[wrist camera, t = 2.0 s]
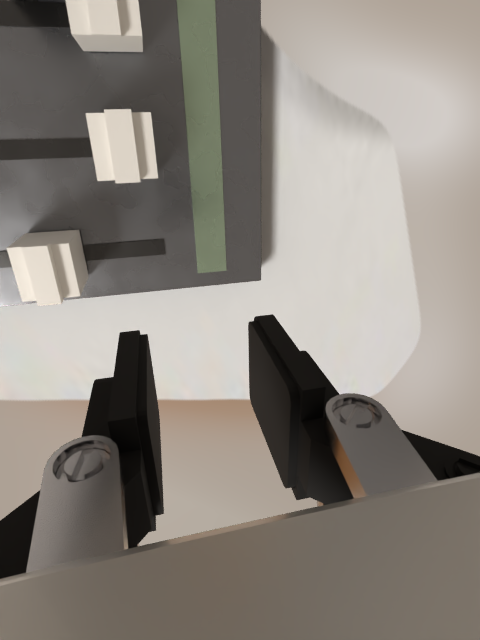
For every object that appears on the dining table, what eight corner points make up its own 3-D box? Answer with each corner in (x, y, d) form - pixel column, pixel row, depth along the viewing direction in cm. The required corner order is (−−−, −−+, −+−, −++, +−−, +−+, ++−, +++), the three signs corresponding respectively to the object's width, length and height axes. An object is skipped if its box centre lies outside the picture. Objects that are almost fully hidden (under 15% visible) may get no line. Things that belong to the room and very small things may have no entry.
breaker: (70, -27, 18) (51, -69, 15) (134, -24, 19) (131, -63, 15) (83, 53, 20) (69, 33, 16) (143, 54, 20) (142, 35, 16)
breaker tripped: (25, 231, 22) (1, 248, 19) (78, 228, 23) (65, 244, 19) (39, 282, 24) (19, 307, 20) (88, 278, 24) (78, 301, 21)
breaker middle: (94, 115, 21) (83, 109, 17) (150, 114, 21) (150, 108, 18) (104, 177, 22) (96, 184, 19) (157, 174, 23) (158, 181, 19)
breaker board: (-331, -69, 16) (-391, -96, 15) (251, -35, 21) (260, -52, 19) (-140, 309, 24) (-164, 323, 22) (254, 271, 29) (261, 280, 27)
